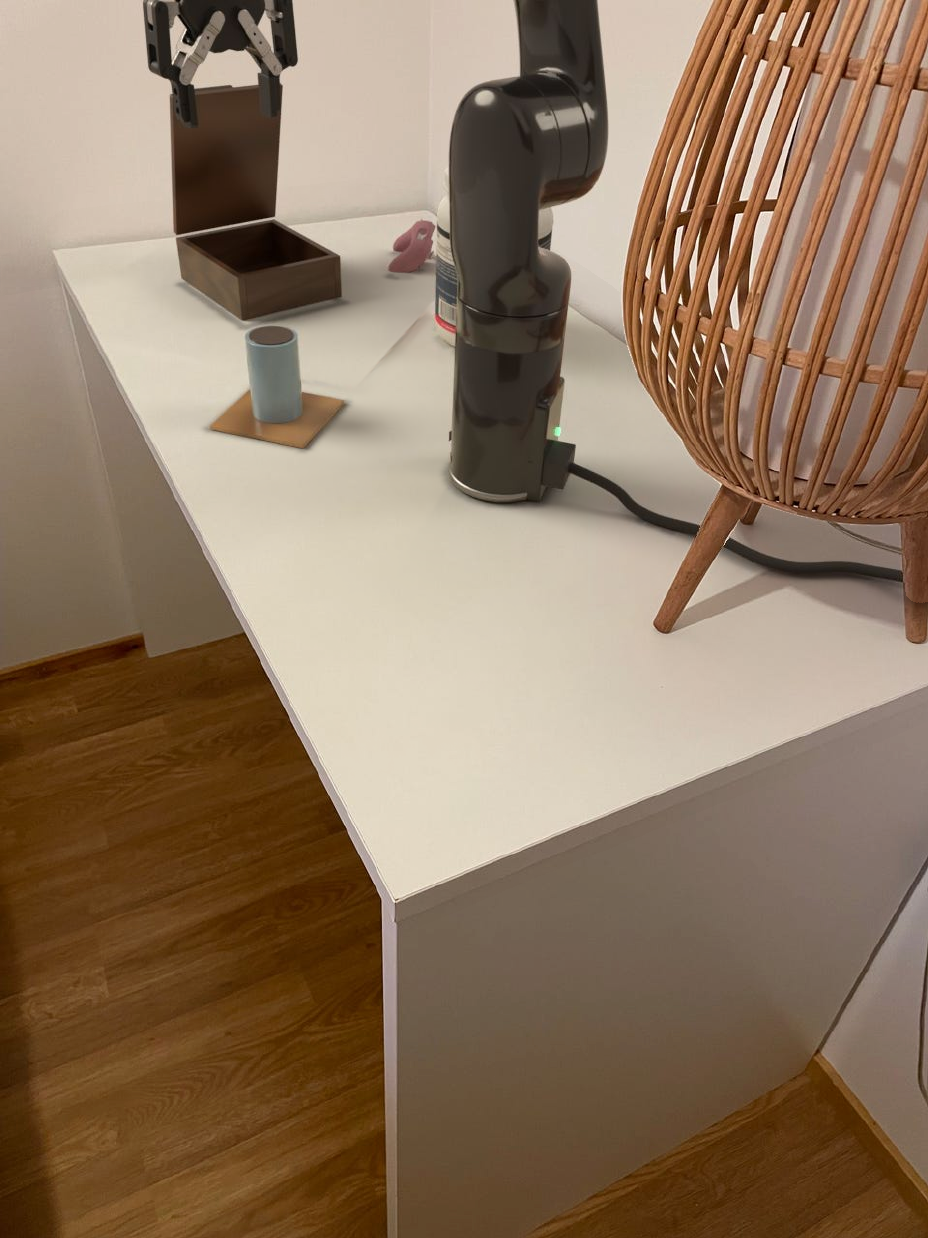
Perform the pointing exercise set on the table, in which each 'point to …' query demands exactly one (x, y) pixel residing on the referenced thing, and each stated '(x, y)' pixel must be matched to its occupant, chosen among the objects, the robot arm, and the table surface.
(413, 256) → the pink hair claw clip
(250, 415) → the mat
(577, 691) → the table surface
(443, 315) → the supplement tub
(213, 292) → the open wooden box
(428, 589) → the table surface
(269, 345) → the cup
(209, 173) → the lid
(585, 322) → the table surface
